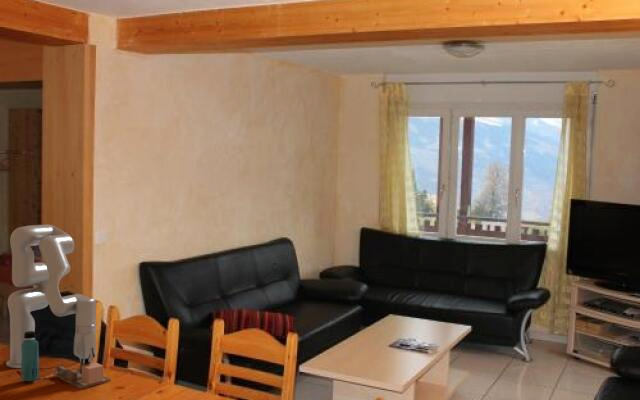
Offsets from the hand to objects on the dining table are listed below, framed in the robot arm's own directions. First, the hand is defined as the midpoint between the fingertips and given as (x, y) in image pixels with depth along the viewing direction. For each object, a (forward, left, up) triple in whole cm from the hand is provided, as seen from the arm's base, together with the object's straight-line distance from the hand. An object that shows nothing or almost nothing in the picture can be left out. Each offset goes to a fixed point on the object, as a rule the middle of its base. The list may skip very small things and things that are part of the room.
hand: (85, 373), depth 267 cm
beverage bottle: (-12, -17, -3) cm, 21 cm away
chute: (-2, 0, -3) cm, 3 cm away
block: (+6, 0, -1) cm, 6 cm away
